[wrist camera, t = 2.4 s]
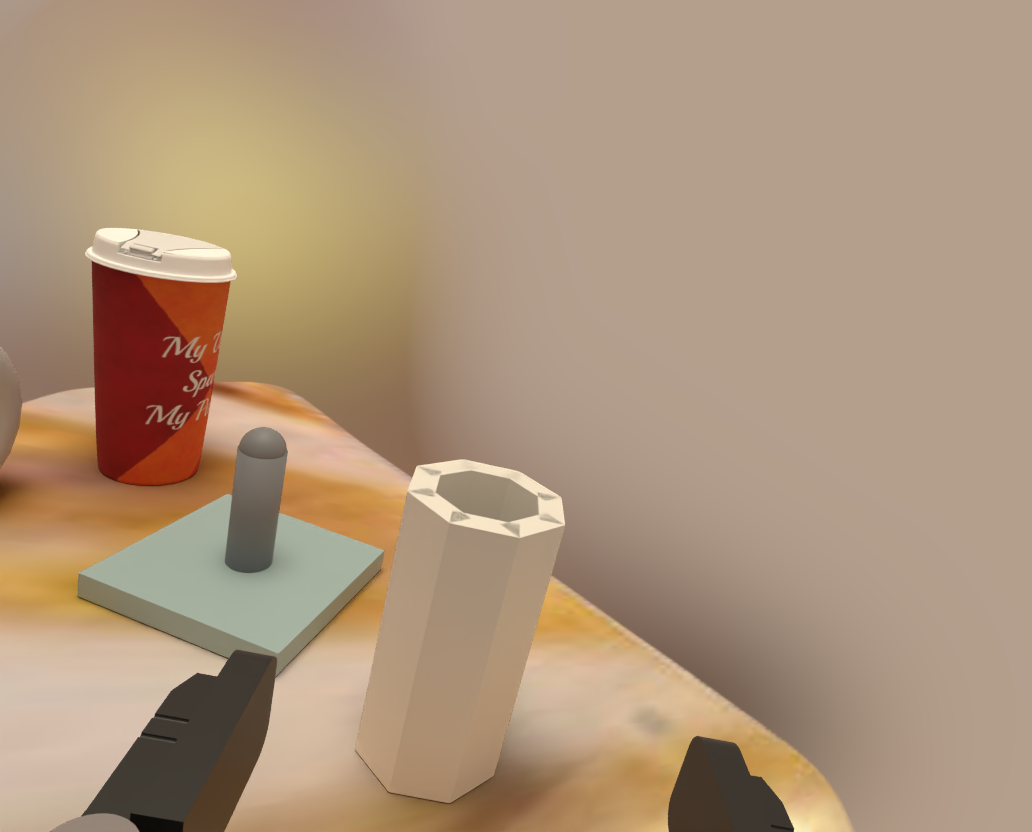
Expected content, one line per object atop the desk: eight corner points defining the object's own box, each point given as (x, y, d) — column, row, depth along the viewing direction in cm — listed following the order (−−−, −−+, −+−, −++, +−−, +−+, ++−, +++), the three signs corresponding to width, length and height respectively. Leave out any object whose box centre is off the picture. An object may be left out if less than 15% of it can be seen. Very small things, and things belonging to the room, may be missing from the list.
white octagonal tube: (345, 784, 24) (399, 512, 21) (375, 681, 30) (422, 450, 26) (492, 811, 25) (568, 548, 21) (496, 705, 30) (558, 480, 27)
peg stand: (77, 596, 30) (84, 424, 28) (225, 512, 40) (240, 378, 37) (274, 677, 28) (301, 501, 26) (380, 569, 38) (407, 432, 35)
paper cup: (189, 503, 40) (212, 264, 35) (48, 479, 38) (55, 230, 34) (233, 453, 47) (256, 250, 43) (116, 432, 46) (128, 222, 42)
